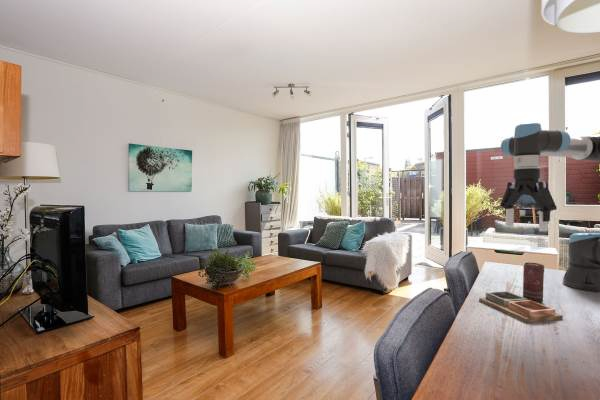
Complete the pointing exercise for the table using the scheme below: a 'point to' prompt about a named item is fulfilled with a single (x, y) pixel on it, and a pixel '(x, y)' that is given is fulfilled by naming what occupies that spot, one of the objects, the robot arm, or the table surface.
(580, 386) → the table surface
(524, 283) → the can
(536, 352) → the table surface
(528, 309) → the board
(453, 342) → the table surface
